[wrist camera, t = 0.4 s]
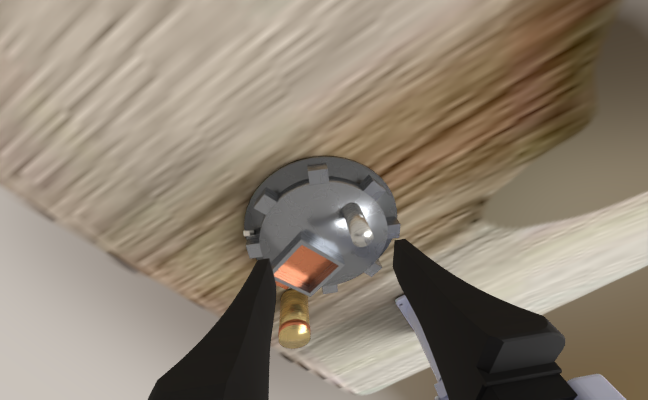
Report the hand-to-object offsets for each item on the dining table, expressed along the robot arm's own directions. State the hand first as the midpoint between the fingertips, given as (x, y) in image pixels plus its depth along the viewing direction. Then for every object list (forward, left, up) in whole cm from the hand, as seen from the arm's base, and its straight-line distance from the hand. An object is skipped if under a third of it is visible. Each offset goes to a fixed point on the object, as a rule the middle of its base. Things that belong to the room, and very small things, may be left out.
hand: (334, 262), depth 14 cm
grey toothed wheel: (-4, +2, -10) cm, 11 cm away
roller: (-11, +10, -10) cm, 18 cm away
